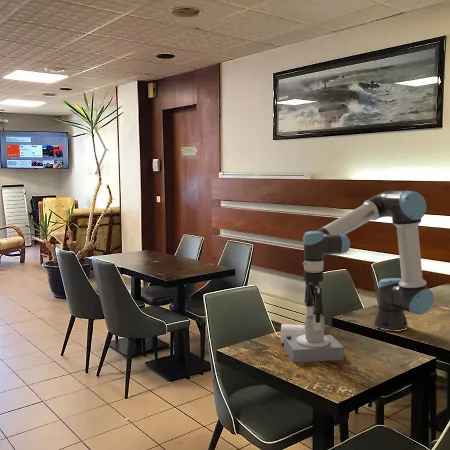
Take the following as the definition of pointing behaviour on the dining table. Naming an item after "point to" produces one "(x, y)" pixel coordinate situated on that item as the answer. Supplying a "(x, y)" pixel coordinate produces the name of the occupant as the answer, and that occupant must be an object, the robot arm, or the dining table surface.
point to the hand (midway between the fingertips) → (313, 326)
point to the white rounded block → (291, 331)
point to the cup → (310, 333)
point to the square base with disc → (313, 349)
